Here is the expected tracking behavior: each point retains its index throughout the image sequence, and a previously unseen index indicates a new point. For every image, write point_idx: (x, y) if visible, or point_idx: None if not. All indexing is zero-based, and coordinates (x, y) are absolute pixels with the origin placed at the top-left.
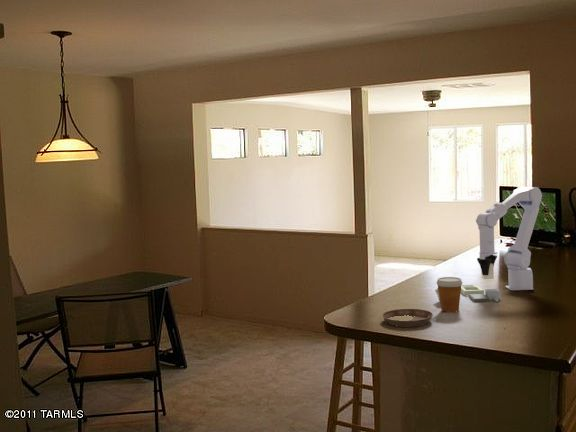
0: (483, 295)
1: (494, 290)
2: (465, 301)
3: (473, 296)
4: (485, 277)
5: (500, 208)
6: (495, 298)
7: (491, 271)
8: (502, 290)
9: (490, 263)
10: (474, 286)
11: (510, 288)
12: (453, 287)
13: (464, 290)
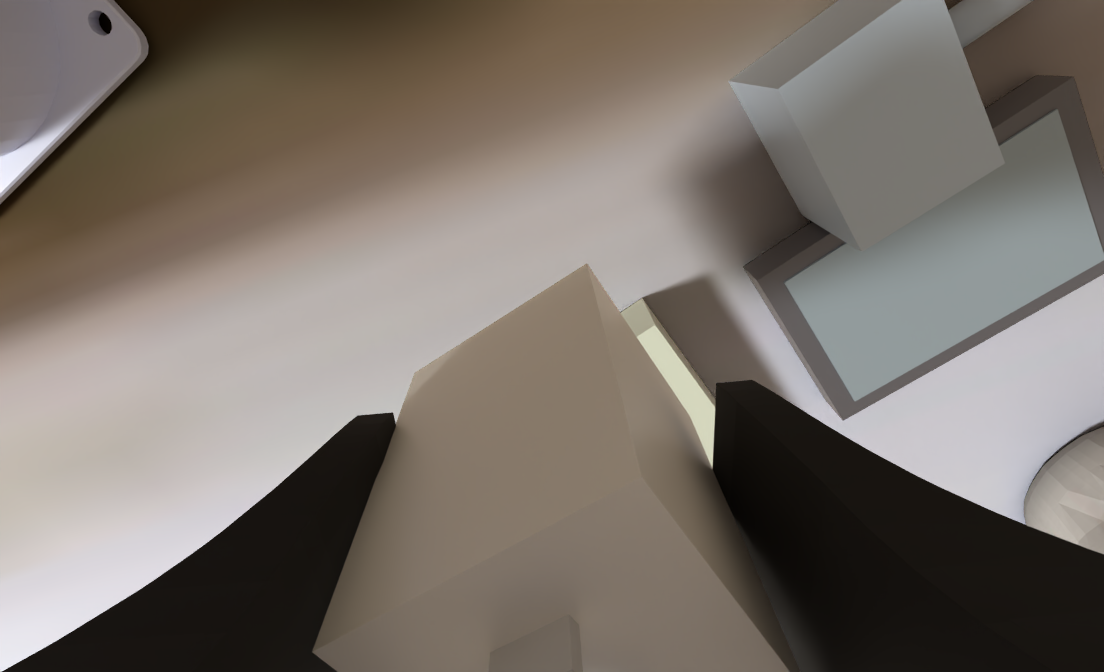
0: None
1: (927, 74)
2: (1057, 347)
3: (972, 322)
4: (679, 408)
5: None
6: (1010, 2)
7: (634, 381)
8: (220, 184)
9: (434, 632)
10: None
11: (82, 84)
12: None
13: None
